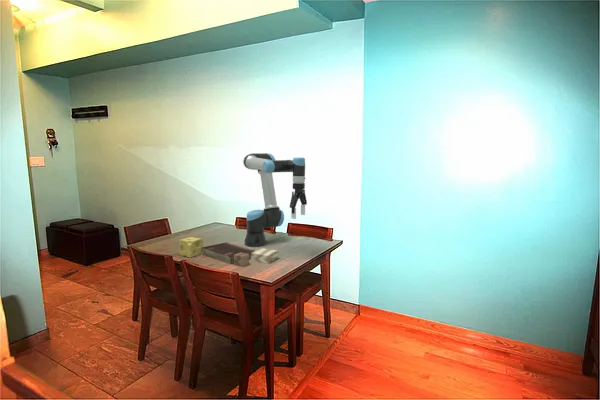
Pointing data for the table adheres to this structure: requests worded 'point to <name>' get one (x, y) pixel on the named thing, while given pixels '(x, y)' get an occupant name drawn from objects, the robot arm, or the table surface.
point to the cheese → (190, 246)
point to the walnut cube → (241, 259)
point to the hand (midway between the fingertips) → (298, 216)
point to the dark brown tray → (225, 252)
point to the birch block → (264, 255)
